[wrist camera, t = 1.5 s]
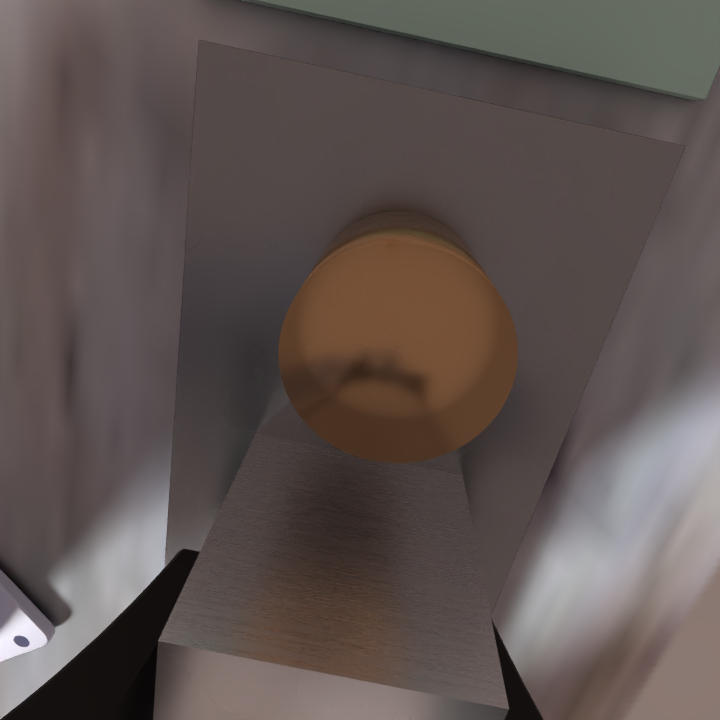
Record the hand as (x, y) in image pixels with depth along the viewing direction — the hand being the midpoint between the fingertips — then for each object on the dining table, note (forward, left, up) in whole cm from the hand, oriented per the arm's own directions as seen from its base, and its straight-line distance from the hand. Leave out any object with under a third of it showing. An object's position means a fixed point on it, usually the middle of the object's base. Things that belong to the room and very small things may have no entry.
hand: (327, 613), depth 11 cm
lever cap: (0, 0, -2) cm, 2 cm away
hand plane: (0, 0, -4) cm, 4 cm away
